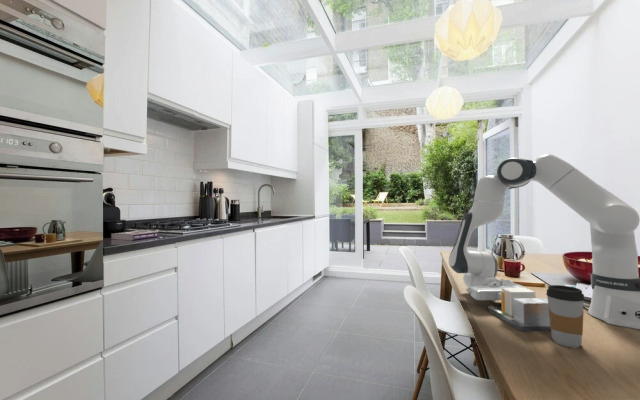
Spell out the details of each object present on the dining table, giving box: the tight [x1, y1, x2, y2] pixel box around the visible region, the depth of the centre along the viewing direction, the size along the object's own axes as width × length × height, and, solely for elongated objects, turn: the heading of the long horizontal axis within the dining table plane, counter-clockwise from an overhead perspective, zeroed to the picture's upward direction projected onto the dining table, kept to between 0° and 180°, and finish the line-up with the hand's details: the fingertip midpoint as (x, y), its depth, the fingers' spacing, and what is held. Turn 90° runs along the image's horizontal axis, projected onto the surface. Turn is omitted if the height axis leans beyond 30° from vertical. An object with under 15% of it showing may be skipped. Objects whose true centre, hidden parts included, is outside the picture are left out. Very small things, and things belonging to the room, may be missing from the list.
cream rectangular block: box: [500, 287, 536, 317], centre depth 101 cm, size 6×10×8 cm, turn 89°
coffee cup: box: [545, 284, 586, 348], centre depth 83 cm, size 8×8×15 cm
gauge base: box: [487, 297, 551, 333], centre depth 100 cm, size 18×12×8 cm, turn 179°
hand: (512, 299), depth 104 cm, fingers closed, pressing on cream rectangular block
